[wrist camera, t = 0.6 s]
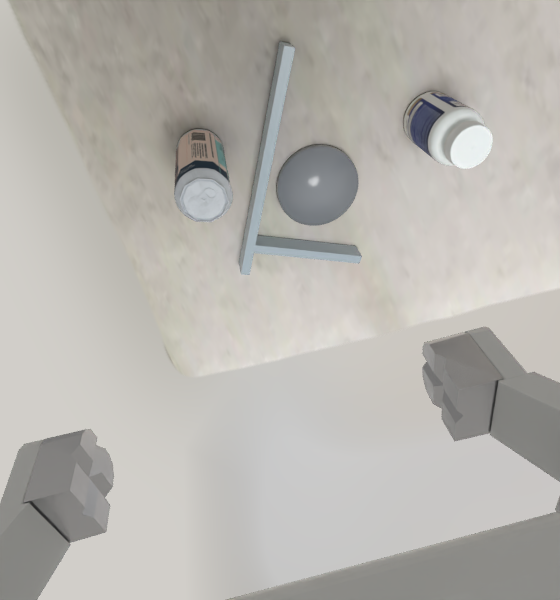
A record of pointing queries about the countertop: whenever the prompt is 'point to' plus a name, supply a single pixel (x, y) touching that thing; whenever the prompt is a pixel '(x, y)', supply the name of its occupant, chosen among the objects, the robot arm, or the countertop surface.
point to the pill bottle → (447, 130)
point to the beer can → (201, 177)
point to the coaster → (317, 184)
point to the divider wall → (266, 153)
